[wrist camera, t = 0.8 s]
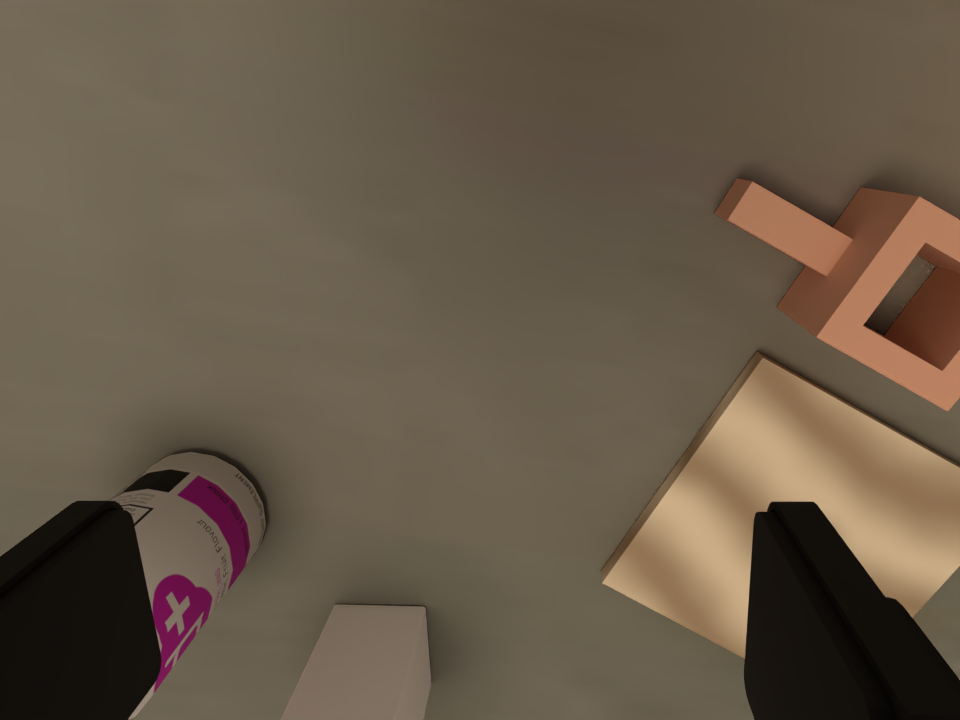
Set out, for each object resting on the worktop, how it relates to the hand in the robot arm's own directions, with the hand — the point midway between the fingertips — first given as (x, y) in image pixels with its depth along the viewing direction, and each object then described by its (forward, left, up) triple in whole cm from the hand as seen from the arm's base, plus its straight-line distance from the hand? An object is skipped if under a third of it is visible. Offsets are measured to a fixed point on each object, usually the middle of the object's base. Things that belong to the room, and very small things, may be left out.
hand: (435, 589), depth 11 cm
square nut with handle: (-8, +14, -29) cm, 33 cm away
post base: (+6, +21, -29) cm, 37 cm away
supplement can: (+23, -10, -29) cm, 39 cm away
